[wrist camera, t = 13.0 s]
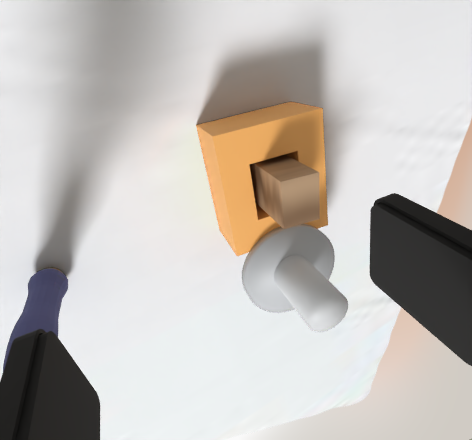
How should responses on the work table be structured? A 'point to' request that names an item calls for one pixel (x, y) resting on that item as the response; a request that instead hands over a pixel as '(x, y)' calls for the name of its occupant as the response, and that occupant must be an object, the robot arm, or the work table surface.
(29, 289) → the rubber mallet
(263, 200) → the tan wooden block
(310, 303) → the orange block with cylinder
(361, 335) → the work table surface
